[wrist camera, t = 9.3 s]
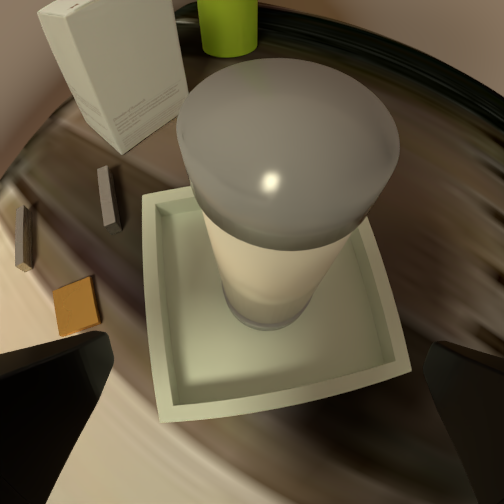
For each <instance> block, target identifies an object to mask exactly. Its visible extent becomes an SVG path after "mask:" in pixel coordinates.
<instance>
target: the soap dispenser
mask: <svg viewBox="0 0 504 504" xmlns="http://www.w3.org/2000/svg"><path fill="white" fill-rule="evenodd" d="M197 4H198V13H199V21H200V30H201V38H202V46H203V50H204V52H205V53H207V54H209V55H211V56H215V57H224V58H228V57H238V56H242V55H246V54H248V53H250V52H252V51H254V50H255V49H256V47H257V16H258V0H197Z"/></svg>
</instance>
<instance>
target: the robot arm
mask: <svg viewBox="0 0 504 504" xmlns="http://www.w3.org/2000/svg"><path fill="white" fill-rule="evenodd" d="M113 363H114V355H113V351H112V347H111V344H110V340H109V336H108V334H107V333H106V332H101V331H90V332H86V333H83V334H79V335H75V336H71V337H67V338H64V339H60V340H56V341H52V342H48V343H44V344H40V345H36V346H32V347H28V348H24V349H20V350H16V351H11V352H7V353H3V354H0V504H46V502H47V500H48V498H49V496H50V493H51V491H52V489H53V487H54V485H55V483H56V481H57V479H58V477H59V475H60V473H61V471H62V469H63V467H64V465H65V463H66V461H67V459H68V457H69V455H70V453H71V451H72V449H73V447H74V445H75V444H76V442H77V440H78V438H79V436H80V434H81V432H82V430H83V428H84V427H85V425H86V423H87V421H88V419H89V417H90V416H91V414H92V412H93V410H94V408H95V406H96V404H97V402H98V400H99V398H100V396H101V393H102V391H103V388H104V386H105V383H106V381H107V379H108V376H109V374H110V371H111V369H112V367H113ZM423 373H424V376H425V379H426V381H427V384H428V387H429V389H430V392H431V395H432V397H433V400H434V403H435V405H436V408H437V410H438V413H439V415H440V417H441V419H442V421H443V423H444V425H445V427H446V429H447V431H448V434H449V436H450V438H451V440H452V442H453V444H454V447H455V449H456V451H457V453H458V456H459V458H460V460H461V462H462V465H463V467H464V469H465V472H466V474H467V477H468V479H469V481H470V484H471V486H472V489H473V491H474V494H475V497H476V499H477V502H478V504H504V358H500V357H497V356H493V355H490V354H487V353H483V352H480V351H477V350H473V349H470V348H467V347H464V346H460V345H457V344H454V343H450V342H447V341H437V342H434V343H432V345H431V347H430V349H429V352H428V354H427V357H426V359H425V362H424V365H423Z"/></svg>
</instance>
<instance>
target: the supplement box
mask: <svg viewBox="0 0 504 504" xmlns="http://www.w3.org/2000/svg"><path fill="white" fill-rule="evenodd" d="M37 15H38V17H39V20H40V23H41V26H42V28H43V31H44V33H45V36H46V38H47V40H48V43H49V45H50V47H51V50H52V52H53V54H54V56H55V58H56V61H57V63H58V65H59V67H60V69H61V71H62V73H63V76H64V78H65V80H66V82H67V84H68V86H69V88H70V90H71V92H72V94H73V96H74V98H75V100H76V102H77V105H78V107H79V109H80V111H81V113H82V115H83V117H84V119H85V121H86V122H87V123H88V124H89V125H90V126H91V127H92V128H93V129H94V130H95V131H96V132H97V133H98V134H99V135H100V136H102V137H103V138H104V139H105V140H106V141H107V142H108V143H109V144H110V145H111V146H113V147H114V148H115V149H116V150H117V151H118V152H119V153H120V154H122V155H123V154H125V153H126V152H127V151H129V150H130V149H131V148H133V147H134V146H135V145H137V144H138V143H139V142H141V141H142V140H143V139H145V138H146V137H148V136H149V135H150V134H152V133H153V132H154V131H156V130H157V129H159V128H160V127H162V126H163V125H165V124H166V123H167V122H169V121H170V120H172V119H173V118H175V117H176V116H178V114H179V111H180V108H181V106H182V104H183V102H184V100H185V99H186V97H187V96H188V95H189V92H188V86H187V81H186V76H185V71H184V66H183V60H182V55H181V49H180V44H179V38H178V33H177V27H176V22H175V16H174V10H173V4H172V0H56V1H54V2H52V3H51V4H49V5H47V6H46V7H44V8H43V9H41V10H39V11H38V12H37Z"/></svg>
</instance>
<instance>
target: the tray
mask: <svg viewBox="0 0 504 504" xmlns="http://www.w3.org/2000/svg"><path fill="white" fill-rule="evenodd" d="M142 246H143V274H144V292H145V307H146V319H147V331H148V341H149V350H150V359H151V367H152V375H153V382H154V389H155V396H156V402H157V408H158V414H159V420H160V423H164V422H180V421H192V420H202V419H211V418H220V417H228V416H235V415H242V414H248V413H255V412H260V411H266V410H272V409H277V408H282V407H287V406H292V405H297V404H301V403H306V402H310V401H314V400H318V399H322V398H326V397H330V396H334V395H338V394H342V393H345V392H349V391H352V390H356V389H359V388H363V387H366V386H369V385H372V384H375V383H379V382H382V381H385V380H388V379H391V378H394V377H396V376H399V375H402V374H405V373H408V372H410V371H412V370H411V365H410V360H409V356H408V351H407V347H406V343H405V338H404V334H403V330H402V326H401V322H400V319H399V315H398V311H397V308H396V304H395V300H394V297H393V293H392V290H391V287H390V283H389V280H388V277H387V273H386V270H385V267H384V264H383V261H382V258H381V255H380V252H379V249H378V246H377V243H376V240H375V237H374V234H373V231H372V228H371V226H370V223H369V220H368V217H367V216H366V218H365V219H364V220H363V222H362V223H361V224H360V225H359V226H358V227H357V228H356V229H355V230H354V231H353V232H352V233H351V235H350V237H349V238H348V240H347V242H346V243H345V245H344V246H343V248H342V250H341V251H340V253H339V254H338V256H337V258H336V259H335V261H334V262H333V264H332V265H331V267H330V269H329V270H328V272H327V273H326V275H325V276H324V278H323V279H322V281H321V282H320V284H319V285H318V287H317V289H316V290H315V292H314V293H313V295H312V298H311V300H310V302H309V304H308V306H307V307H306V309H305V310H304V311H303V313H302V314H301V315H300V317H299V318H298V319H297V320H296V321H294V322H293V323H292V324H290V325H288V326H287V327H285V328H282V329H279V330H274V331H260V330H256V329H252V328H250V327H248V326H246V325H244V324H242V323H241V322H240V321H239V320H237V319H236V318H235V316H234V315H233V314H232V313H231V311H230V310H229V308H228V306H227V303H226V300H225V297H224V294H223V290H222V280H221V276H220V273H219V270H218V266H217V263H216V259H215V256H214V252H213V249H212V245H211V242H210V238H209V235H208V231H207V228H206V224H205V220H204V217H203V213H202V209H201V208H200V206H199V205H198V203H197V201H196V199H195V197H194V195H193V192H192V188H191V186H188V187H182V188H177V189H171V190H166V191H161V192H156V193H151V194H146V195H142Z"/></svg>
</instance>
